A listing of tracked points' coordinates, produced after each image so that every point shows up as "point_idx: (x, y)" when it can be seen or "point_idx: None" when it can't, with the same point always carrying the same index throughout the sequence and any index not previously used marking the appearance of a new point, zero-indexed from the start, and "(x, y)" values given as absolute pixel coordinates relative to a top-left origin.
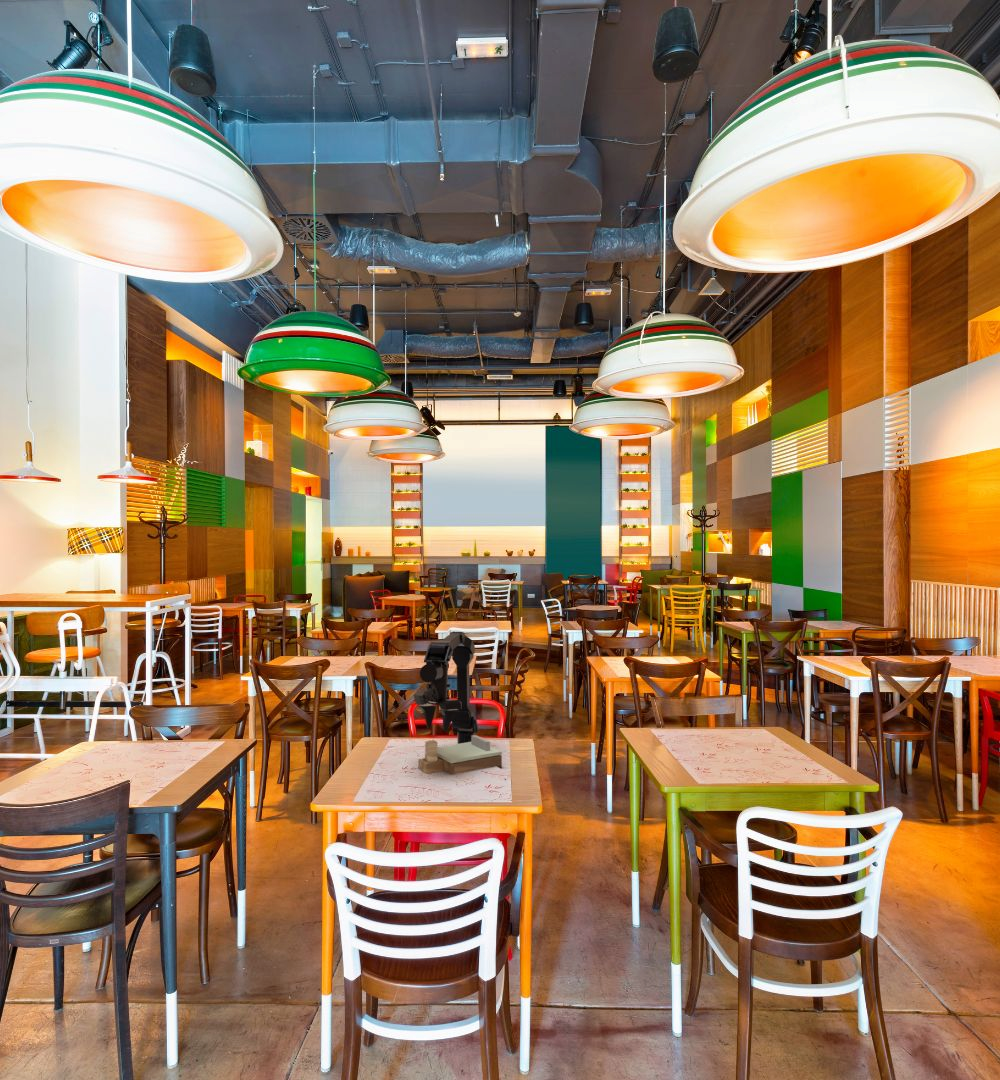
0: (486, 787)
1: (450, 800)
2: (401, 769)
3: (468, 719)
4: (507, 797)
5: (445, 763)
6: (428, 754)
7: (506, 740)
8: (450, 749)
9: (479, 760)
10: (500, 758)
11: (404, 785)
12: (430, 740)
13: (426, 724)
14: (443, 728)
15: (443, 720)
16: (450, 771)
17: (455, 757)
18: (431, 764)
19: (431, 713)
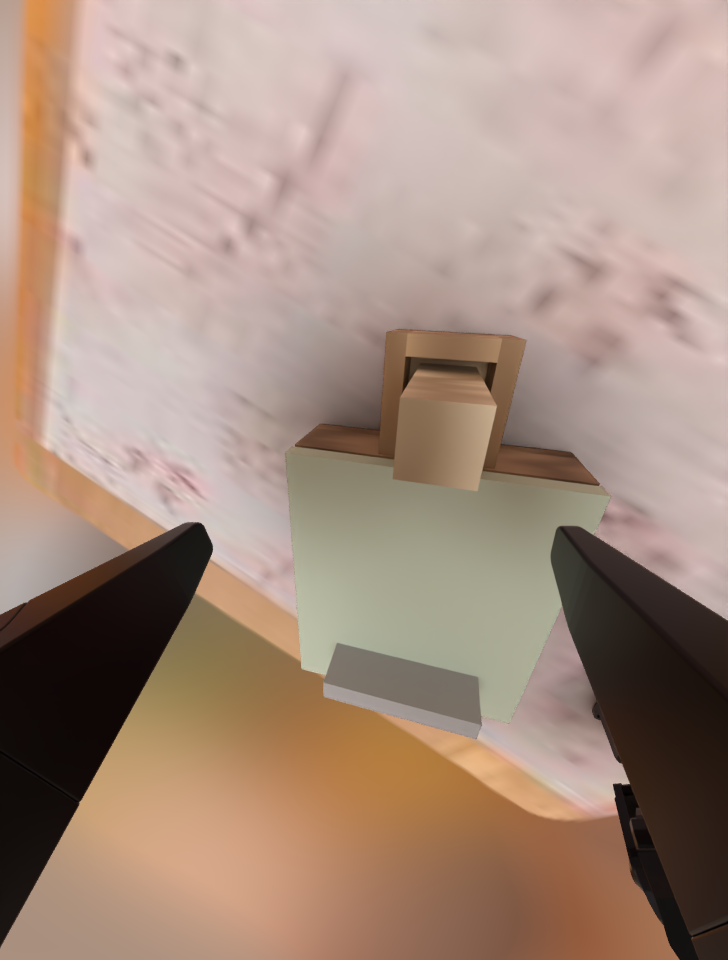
0: (175, 466)
1: (72, 262)
2: (659, 261)
3: (658, 886)
4: (77, 459)
5: (362, 448)
6: (421, 379)
7: (585, 803)
8: (474, 568)
9: None
10: None
11: (345, 116)
12: (479, 461)
13: (612, 548)
14: (164, 536)
15: (31, 612)
16: (314, 432)
17: (319, 499)
18: (384, 368)
19: (695, 847)
